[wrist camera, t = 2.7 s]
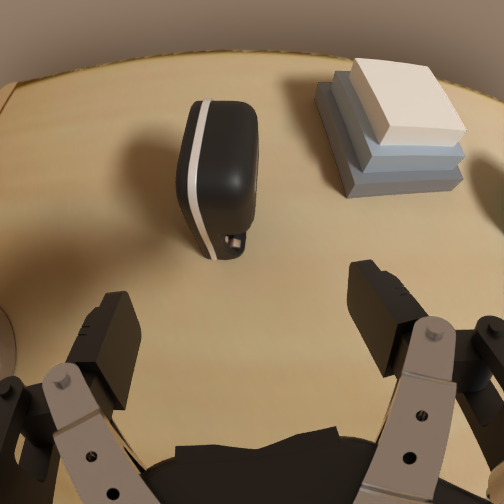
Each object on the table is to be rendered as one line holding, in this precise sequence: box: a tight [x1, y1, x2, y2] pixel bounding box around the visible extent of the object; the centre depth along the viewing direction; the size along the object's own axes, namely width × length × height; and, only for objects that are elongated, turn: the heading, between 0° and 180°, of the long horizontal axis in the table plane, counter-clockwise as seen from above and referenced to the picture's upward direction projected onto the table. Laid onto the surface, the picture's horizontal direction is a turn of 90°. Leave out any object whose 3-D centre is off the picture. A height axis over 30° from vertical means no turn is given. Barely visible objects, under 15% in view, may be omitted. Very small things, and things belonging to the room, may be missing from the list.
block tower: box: [315, 58, 467, 198], centre depth 25 cm, size 12×12×8 cm
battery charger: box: [176, 99, 259, 261], centre depth 20 cm, size 7×4×11 cm, turn 176°
